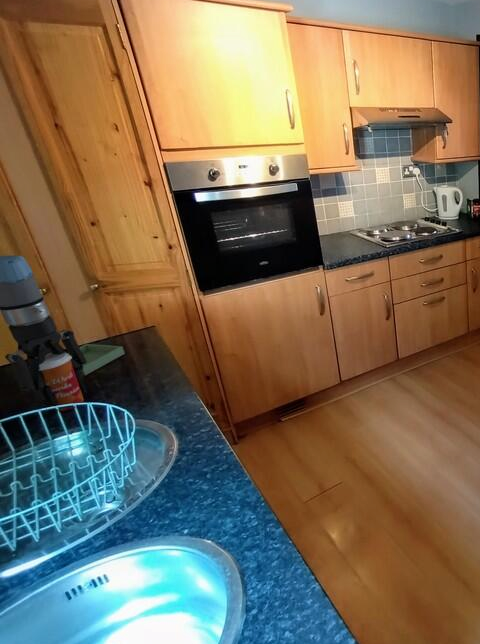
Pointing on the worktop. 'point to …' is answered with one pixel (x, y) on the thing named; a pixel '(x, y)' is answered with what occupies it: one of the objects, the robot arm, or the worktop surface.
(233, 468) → the worktop surface
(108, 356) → the tray
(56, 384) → the paper cup
